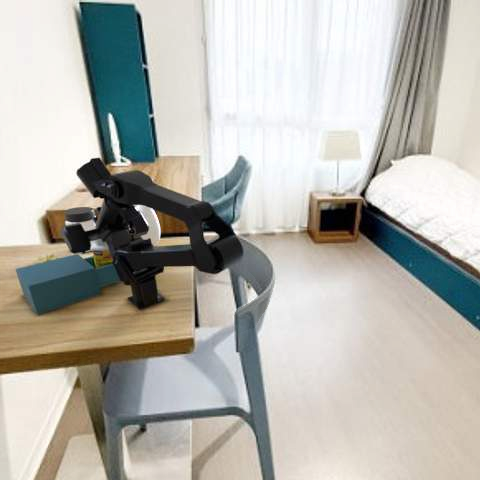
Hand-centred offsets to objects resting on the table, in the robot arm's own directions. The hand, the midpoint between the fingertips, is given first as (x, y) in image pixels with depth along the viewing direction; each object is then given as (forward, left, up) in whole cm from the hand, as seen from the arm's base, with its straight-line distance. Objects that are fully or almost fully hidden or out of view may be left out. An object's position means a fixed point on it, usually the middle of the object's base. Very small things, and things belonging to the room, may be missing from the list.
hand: (101, 247), depth 92 cm
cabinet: (-1, +11, -9) cm, 15 cm away
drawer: (-1, 0, -8) cm, 8 cm away
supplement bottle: (-2, 0, -7) cm, 7 cm away
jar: (+27, -4, -9) cm, 28 cm away
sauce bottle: (+13, -18, -9) cm, 24 cm away
